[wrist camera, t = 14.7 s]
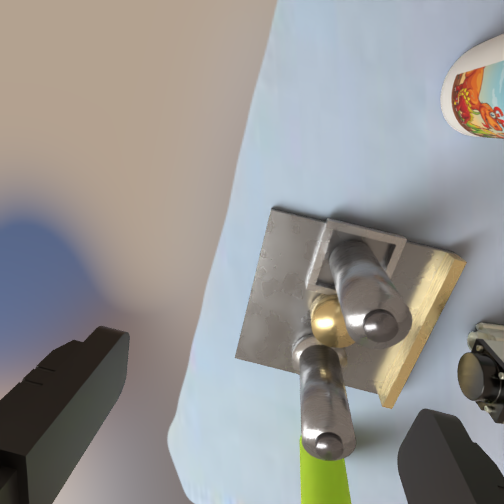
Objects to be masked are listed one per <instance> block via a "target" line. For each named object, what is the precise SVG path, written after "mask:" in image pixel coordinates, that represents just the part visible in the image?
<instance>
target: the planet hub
mask: <svg viewBox="0 0 504 504" xmlns="http://www.w3.org/2000/svg"><path fill="white" fill-rule="evenodd" d="M329 265H330V270H331V273H332V277H333V281H334V284H335V288H336V292H337V295H338V299H339V303H340V306H341V310H342V314H343V317H344V321H345V325H346V329H347V332H348V334H349V336H350V337H351V338H352V339H353V340H354V341H355V342H356V343H357V344H359V345H361V346H363V347H366V348H370V349H385V348H389V347H392V346H394V345H396V344H398V343H399V342H401V341H402V340H403V339H404V338H405V337H406V336H407V335H408V333H409V331H410V329H411V326H412V314H411V312H410V309H409V308H408V306H407V305H406V303H405V302H404V300H403V298H402V297H401V295H400V294H399V292H398V291H397V289H396V287H395V286H394V284H393V283H392V281H391V280H390V278H389V277H388V275H387V273H386V272H385V270H384V269H383V267H382V266H381V264H380V262H379V261H378V259H377V258H376V256H375V255H374V253H373V251H372V250H371V249H370V247H369V246H367V245H366V244H364V243H362V242H359V241H347V242H344V243H342V244H340V245H338V246H337V247H336V248H335V249H334V250H333V252H332V253H331V256H330V259H329Z"/></svg>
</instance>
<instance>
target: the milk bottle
mask: <svg viewBox="0 0 504 504" xmlns="http://www.w3.org/2000/svg"><path fill="white" fill-rule="evenodd" d="M440 101H441V109H442V113H443V116H444V118H445V119H446V121H447V123H448V124H449V125H450V126H451V127H452V128H453V129H455V130H456V131H458V132H460V133H462V134H465V135H469V136H475V137H487V138H501V139H504V34H501V35H499V36H497V37H494V38H492V39H490V40H487V41H485V42H483V43H481V44H479V45H477V46H475V47H473V48H471V49H470V50H468V51H467V52H466V53H464V54H463V55H462V56H461V57H460V58H459V59H458V60H457V61H456V62H455V63H454V65H453V66H452V67H451V69H450V70H449V72H448V74H447V76H446V78H445V80H444V83H443V86H442V90H441V98H440Z"/></svg>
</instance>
